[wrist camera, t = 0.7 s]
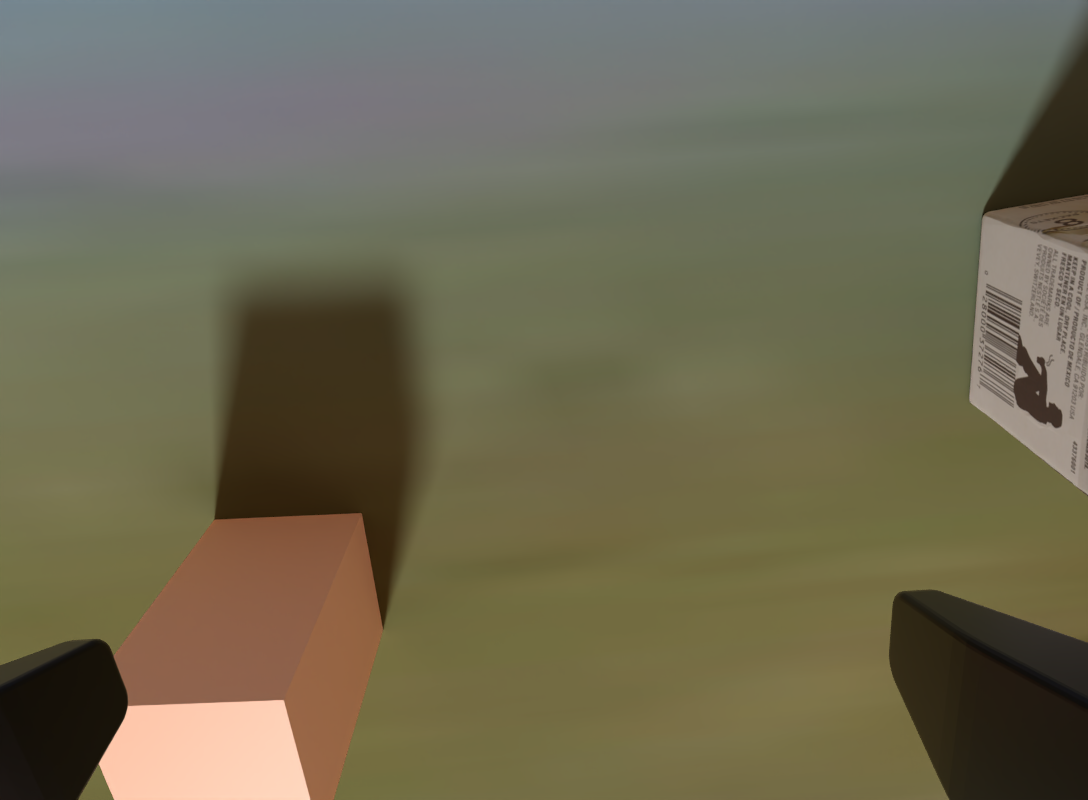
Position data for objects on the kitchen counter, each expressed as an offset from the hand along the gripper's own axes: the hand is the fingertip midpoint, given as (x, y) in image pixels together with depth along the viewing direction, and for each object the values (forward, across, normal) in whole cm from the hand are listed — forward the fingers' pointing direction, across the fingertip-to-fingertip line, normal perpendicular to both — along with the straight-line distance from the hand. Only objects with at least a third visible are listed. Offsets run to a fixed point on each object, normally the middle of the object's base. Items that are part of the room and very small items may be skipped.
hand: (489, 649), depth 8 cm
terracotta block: (+15, -9, -8) cm, 19 cm away
